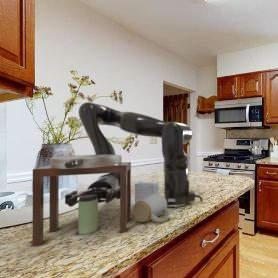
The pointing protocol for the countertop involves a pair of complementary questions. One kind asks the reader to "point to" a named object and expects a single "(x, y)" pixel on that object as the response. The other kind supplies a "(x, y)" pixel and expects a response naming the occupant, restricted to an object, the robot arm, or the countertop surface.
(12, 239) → the countertop surface
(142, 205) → the ceramic mug
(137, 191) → the medicine box
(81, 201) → the spice bottle
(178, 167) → the robot arm
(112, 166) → the pan stand
